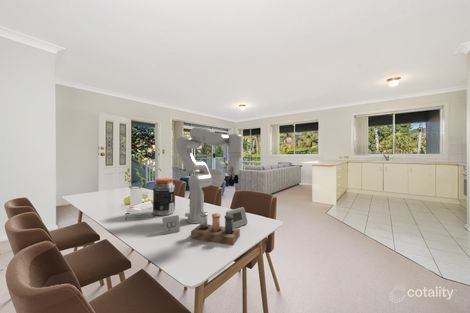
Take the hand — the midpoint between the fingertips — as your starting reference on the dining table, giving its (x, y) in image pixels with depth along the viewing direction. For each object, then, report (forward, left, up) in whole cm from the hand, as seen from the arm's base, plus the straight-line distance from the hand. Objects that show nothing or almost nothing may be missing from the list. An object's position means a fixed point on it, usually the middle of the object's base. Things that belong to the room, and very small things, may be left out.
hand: (233, 184), depth 114 cm
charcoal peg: (+1, -10, -25) cm, 26 cm away
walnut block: (-7, -10, -28) cm, 31 cm away
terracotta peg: (-7, -10, -25) cm, 27 cm away
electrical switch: (-35, -12, -28) cm, 46 cm away
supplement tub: (-61, +16, -28) cm, 69 cm away
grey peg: (-14, -10, -25) cm, 30 cm away
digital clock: (-1, +10, -28) cm, 30 cm away
